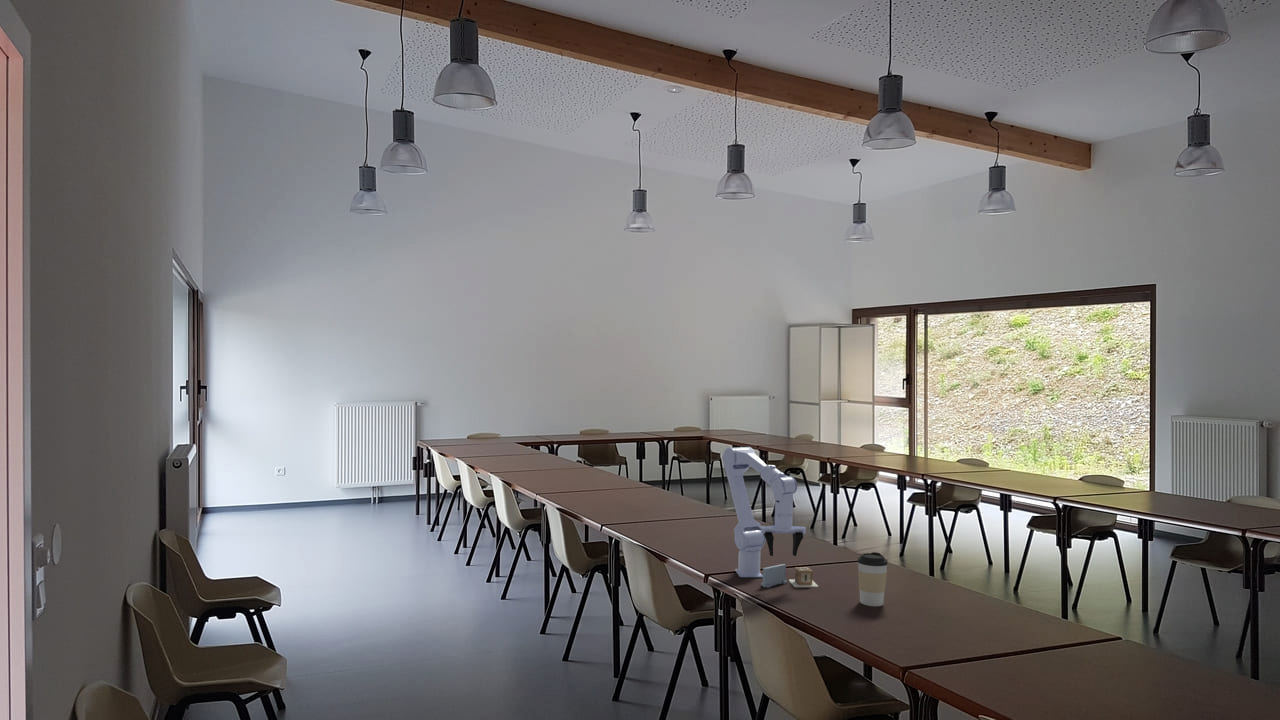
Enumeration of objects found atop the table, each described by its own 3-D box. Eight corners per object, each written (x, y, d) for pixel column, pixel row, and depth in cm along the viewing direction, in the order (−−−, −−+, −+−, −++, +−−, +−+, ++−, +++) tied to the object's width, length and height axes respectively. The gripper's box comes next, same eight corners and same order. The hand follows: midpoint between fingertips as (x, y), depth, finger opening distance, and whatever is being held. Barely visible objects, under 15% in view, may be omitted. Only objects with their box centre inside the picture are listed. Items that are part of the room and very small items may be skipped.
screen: (760, 585, 274) (760, 567, 274) (780, 581, 281) (781, 563, 281) (767, 588, 272) (767, 569, 272) (787, 583, 278) (788, 565, 278)
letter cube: (794, 581, 280) (795, 566, 280) (808, 581, 280) (808, 566, 280) (798, 585, 275) (799, 570, 275) (812, 585, 275) (812, 570, 275)
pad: (788, 580, 282) (788, 579, 282) (811, 580, 282) (812, 579, 282) (794, 587, 274) (794, 585, 274) (818, 587, 274) (818, 586, 274)
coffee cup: (880, 609, 251) (881, 559, 251) (851, 603, 257) (852, 554, 257) (891, 602, 259) (892, 554, 259) (863, 596, 264) (864, 549, 264)
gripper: (764, 515, 269) (763, 558, 269) (808, 516, 270) (807, 558, 270) (759, 511, 276) (759, 552, 276) (803, 512, 277) (802, 553, 277)
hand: (782, 555), depth 273 cm, fingers open, 7 cm apart
